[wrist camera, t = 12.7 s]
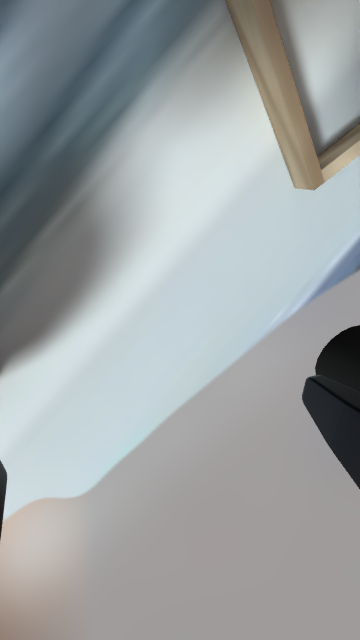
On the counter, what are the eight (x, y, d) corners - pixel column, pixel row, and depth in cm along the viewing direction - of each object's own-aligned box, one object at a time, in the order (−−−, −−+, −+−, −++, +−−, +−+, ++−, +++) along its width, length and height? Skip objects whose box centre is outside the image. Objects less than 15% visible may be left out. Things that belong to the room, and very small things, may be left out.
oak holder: (294, 188, 20) (314, 190, 18) (224, -4, 14) (242, -27, 12) (425, 85, 19) (458, 77, 17) (406, -162, 13) (453, -210, 11)
